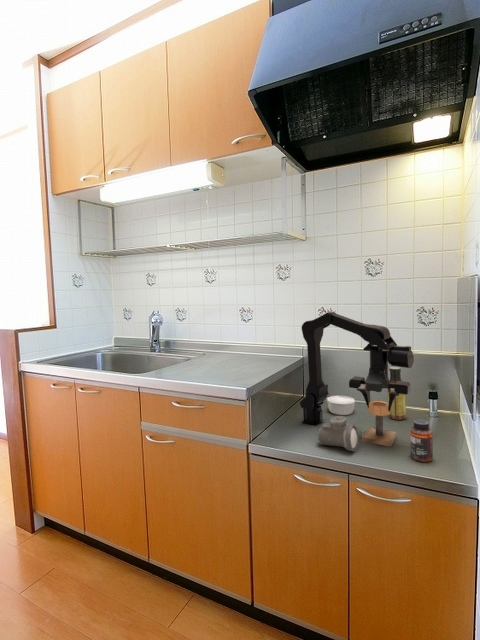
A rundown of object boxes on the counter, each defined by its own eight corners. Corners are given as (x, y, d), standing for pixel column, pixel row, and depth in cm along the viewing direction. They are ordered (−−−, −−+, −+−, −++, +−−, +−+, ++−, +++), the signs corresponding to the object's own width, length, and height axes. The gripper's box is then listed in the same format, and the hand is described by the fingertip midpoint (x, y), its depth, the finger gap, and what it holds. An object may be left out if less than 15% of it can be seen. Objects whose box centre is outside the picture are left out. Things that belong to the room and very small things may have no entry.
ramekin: (358, 409, 153) (358, 397, 152) (351, 418, 143) (351, 405, 143) (332, 405, 159) (332, 394, 158) (323, 413, 149) (323, 401, 149)
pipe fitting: (361, 444, 119) (356, 414, 118) (353, 456, 112) (348, 424, 111) (326, 440, 126) (321, 412, 125) (317, 452, 119) (312, 422, 118)
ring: (367, 413, 122) (367, 405, 122) (372, 408, 127) (372, 400, 127) (386, 417, 118) (386, 408, 118) (390, 411, 123) (390, 402, 123)
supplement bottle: (429, 454, 111) (429, 418, 110) (435, 463, 105) (435, 425, 104) (408, 453, 112) (408, 417, 111) (413, 462, 107) (413, 425, 106)
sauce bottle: (406, 416, 142) (406, 366, 141) (404, 421, 137) (404, 370, 135) (389, 413, 146) (388, 365, 144) (386, 418, 141) (385, 368, 139)
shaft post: (362, 440, 122) (362, 417, 121) (369, 431, 130) (369, 409, 129) (390, 446, 117) (390, 422, 116) (396, 436, 124) (396, 414, 124)
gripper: (343, 366, 120) (344, 412, 121) (404, 372, 109) (404, 422, 111) (353, 360, 129) (354, 403, 130) (410, 364, 118) (410, 411, 120)
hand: (379, 409), depth 122 cm, fingers closed on ring, 6 cm apart
